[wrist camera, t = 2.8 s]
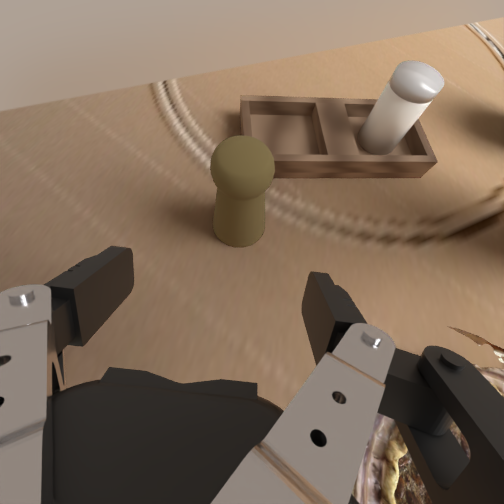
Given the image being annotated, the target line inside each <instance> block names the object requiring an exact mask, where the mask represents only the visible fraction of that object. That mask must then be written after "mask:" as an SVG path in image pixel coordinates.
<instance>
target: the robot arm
mask: <svg viewBox="0 0 504 504" xmlns="http://www.w3.org/2000/svg"><path fill="white" fill-rule="evenodd" d="M133 285H134V269H133V253H132V250H131V249H130V248H125V247H117V246H110V247H109V248H107V249H106V250H104V251H103V252H101V253H99V254H98V255H96V256H93V257H90V258H87V259H84V260H83V261H81V262H79V263H78V264H76V265H75V266H73V267H71V268H70V269H68V271H65V272H63V273H62V274H60V275H59V276H57V277H56V278H54V279H52V280H51V281H49V282H48V283H46V284H44V285H38V284H32V285H22V286H17V287H13V288H10V289H7V290H5V291H2V292H0V504H360V503H359V502H358V501H357V500H356V498H355V497H354V496H353V495H352V491H353V487H354V484H355V481H356V478H357V475H358V472H359V468H360V465H361V462H362V459H363V456H364V453H365V449H366V446H367V443H368V440H369V437H370V434H371V431H372V427H373V424H374V421H375V418H376V415H377V413H379V414H381V415H384V416H386V417H389V418H391V419H394V421H395V423H396V425H397V427H398V429H399V432H400V434H401V436H402V438H403V440H404V443H405V445H406V447H407V449H408V451H409V453H410V456H411V458H412V460H413V462H414V464H415V467H416V469H417V471H418V473H419V475H420V477H421V480H422V482H423V484H424V486H425V488H426V491H427V493H428V495H429V497H430V499H431V502H432V504H504V397H503V396H502V395H501V394H500V393H499V392H498V391H497V390H496V389H495V388H494V387H493V386H492V384H491V383H490V382H489V381H488V380H487V379H486V378H485V377H484V376H483V375H482V374H481V373H480V372H479V371H478V370H477V369H476V368H475V367H474V366H473V365H472V364H471V363H470V362H469V361H468V360H466V359H465V358H463V357H462V356H460V355H459V354H457V353H455V352H453V351H451V350H448V349H446V348H443V347H439V346H427V347H426V348H425V349H424V351H423V353H422V355H421V356H418V355H415V354H412V353H409V352H406V351H403V350H400V349H397V348H395V347H396V346H395V343H394V341H393V339H392V338H391V337H390V336H389V335H388V334H387V333H385V332H384V331H382V330H381V329H379V328H377V327H375V326H372V325H369V324H367V322H366V321H365V319H364V318H363V316H362V314H361V313H360V311H359V310H358V308H357V307H356V305H355V304H354V302H353V301H352V299H351V297H350V296H349V294H348V293H347V292H346V291H345V290H344V289H342V288H341V287H340V286H339V285H335V284H334V283H333V281H332V279H331V278H330V276H329V274H328V273H320V272H312V271H311V272H310V274H309V276H308V280H307V284H306V288H305V292H304V297H303V301H302V316H303V320H304V323H305V327H306V330H307V334H308V337H309V341H310V344H311V348H312V352H313V355H314V359H315V362H316V368H315V369H314V370H313V372H312V373H311V375H310V376H309V377H308V379H307V380H306V381H305V383H304V384H303V386H302V387H301V388H300V390H299V391H298V393H297V394H296V395H295V397H294V398H293V400H292V401H291V402H290V404H289V405H288V407H287V408H286V409H285V411H283V410H282V409H281V408H280V407H278V406H277V405H275V404H273V403H272V402H270V401H268V400H266V399H264V398H262V397H259V396H257V383H251V382H242V381H232V380H223V379H220V380H211V381H203V382H194V383H186V384H181V383H177V382H174V381H172V380H169V379H166V378H164V377H161V376H158V375H155V374H153V373H150V372H147V371H141V370H131V369H122V368H113V367H109V368H108V370H107V371H106V373H105V374H104V376H103V377H102V379H101V380H95V381H90V382H86V383H82V384H79V385H75V386H73V387H70V388H66V372H65V357H64V352H63V349H64V348H65V347H66V346H67V345H73V346H82V347H83V346H84V345H85V344H86V343H87V342H88V340H89V339H90V338H91V337H92V336H93V335H94V334H95V333H96V331H97V330H98V329H99V328H100V327H101V326H102V325H103V324H104V322H105V321H106V320H107V319H108V318H109V317H110V316H111V314H112V313H113V312H114V311H115V310H116V309H117V308H118V307H119V305H120V304H121V303H122V302H123V301H124V300H125V299H126V298H127V296H128V295H129V294H130V293H131V291H132V289H133ZM453 421H454V422H455V424H456V425H457V427H458V428H459V430H460V431H461V433H462V434H463V435H464V437H465V439H466V441H467V443H468V445H469V449H470V460H469V458H468V457H467V455H466V453H465V452H464V450H463V449H462V447H461V446H460V444H459V443H458V441H457V439H456V438H455V436H454V435H453V433H452V432H451V430H450V429H449V427H450V426H451V424H452V423H453Z"/></svg>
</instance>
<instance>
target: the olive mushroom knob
mask: <svg viewBox="0 0 504 504" xmlns="http://www.w3.org/2000/svg"><path fill="white" fill-rule="evenodd" d="M210 170H211V175H212V178H213V181H214V183H215V185H216V186H217V194H216V202H215V209H214V217H213V229H214V232H215V234H216V236H217V237H218V238H219V240H220V241H222V242H223V243H225V244H226V245H229V246H232V247H246V246H250V245H252V244H254V243H255V242H257V241H258V240H259V239H260V237H261V236H262V235H263V232H264V229H265V191H266V190H267V188H268V187H269V186H270V184H271V182H272V179H273V176H274V173H275V165H274V158H273V156H272V153H271V151H270V150H269V148H268V147H267V146H266V145H265V144H264V143H263V142H262V141H260V140H258V139H257V138H254V137H250V136H243V135H238V136H233V137H229V138H227V139H225V140H223V141H222V142H221V143H220V144H219V145H218V146H217V147H216V149H215V151H214V153H213V155H212V158H211V166H210Z"/></svg>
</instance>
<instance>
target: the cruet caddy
mask: <svg viewBox="0 0 504 504" xmlns="http://www.w3.org/2000/svg"><path fill="white" fill-rule="evenodd" d="M376 102H377V100H375V99H344V98H313V97H283V96H252V95H241V103H240V123H241V135H243V136H250V137H254V138H257V139H258V140H260V141H262V142H263V143H264V144H265V145H266V146H267V147H268V148H269V150H270V151H271V153H272V156H273V158H274V165H275V173H274V176H273V178H421V177H422V176H423V175H424V174H425V173H426V172H427V171H428V170H429V169H430V168H431V167H433V166H434V165H435V164H436V163H437V159H436V157H435V155H434V153H433V150H432V148H431V146H430V144H429V141H428V139H427V137H426V135H425V132H424V130H423V128H422V126H421V124H420V121H419V119H417V120H416V122H415V123H414V124H413V126H412V127H411V128H410V129H409V131H408V132H407V133H406V134H405V136H404V137H403V138H402V139H401V141H400V142H399V143H398V144H397V146H396V147H395V148H394V149H393V151H392V152H391V153H389V154H387V155H375V154H372V153H370V152H368V151H366V150H365V149H364V148H363V147H362V146H361V145H360V144H359V142H358V133H359V131H360V130H361V128H362V126H363V124H364V123H365V121H366V119H367V117H368V116H369V114H370V112H371V111H372V109H373V107H374V105H375V104H376Z"/></svg>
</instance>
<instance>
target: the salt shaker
mask: <svg viewBox="0 0 504 504" xmlns="http://www.w3.org/2000/svg"><path fill="white" fill-rule="evenodd" d="M443 86H444V80H443V77H442V76H441V74H440V73H439V72H438V71H437V70H436V69H434V68H433V67H431V66H429V65H427V64H425V63H422V62H418V61H404V62H402V63H400V64H399V65H398V66H397V67H396V69H395V71H394V73H393V74H392V76H391V78H390V80H389V81H388V83H387V85H386V86H385V88H384V90H383V92H382V93H381V95H380V97H379V99H378V100H377V102H376V104H375V105H374V107H373V109H372V111H371V112H370V114H369V116H368V117H367V119H366V121H365V123H364V124H363V126H362V128H361V130H360V131H359V133H358V142H359V144H360V145H361V146H362V147H363V148H364V149H365V150H366V151H368V152H370V153H372V154H375V155H387V154H389V153H391V152H392V151H393V149H394V148H395V147H396V146H397V144H398V143H399V142H400V141H401V139H402V138H403V137H404V136H405V134H406V133H407V132H408V131H409V129H410V128H411V127H412V126H413V124H414V123H415V122H416V120H417V119H418V118H419V117H420V115H421V114H422V113H423V112H424V110H425V109H426V108H427V107H428V105H429V104H430V103H431V102H432V100H433V99H434V98H435V97H436V95H437V94H438V93H439V92H440V90H441V89H442V88H443Z"/></svg>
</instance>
